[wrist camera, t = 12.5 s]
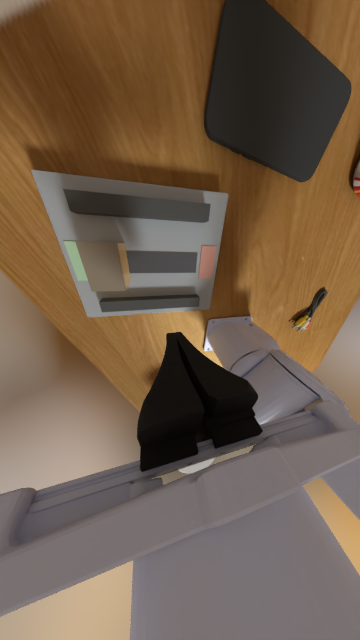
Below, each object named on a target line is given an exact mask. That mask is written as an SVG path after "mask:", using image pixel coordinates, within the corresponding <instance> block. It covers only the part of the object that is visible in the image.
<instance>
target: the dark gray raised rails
mask: <svg viewBox="0 0 360 640" xmlns="http://www.w3.org/2000/svg"><path fill="white" fill-rule="evenodd" d="M63 190H64V194H65V197H66V200H67V203H68V206H69V209H70V211H71V212H74V213H76V214H85V215H99V216H113V217H127V218H141V219H155V220H169V221H183V222H198V223H205V222H208V221H209V214H210V206H211V204H207V203H197V202H187V201H178V200H168V199H158V198H148V197H138V196H129V195H119V194H109V193H99V192H89V191H80V190H70V189H63ZM199 301H200V297H199V296H198V295H197V294H189V295H165V296H141V297H116V298H102V299H101V300H100V301H99V305H100V308H101V311H102V312H117V311H134V310H150V309H167V308H183V307H199Z"/></svg>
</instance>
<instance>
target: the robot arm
mask: <svg viewBox="0 0 360 640" xmlns="http://www.w3.org/2000/svg"><path fill="white" fill-rule="evenodd" d="M245 318H246V319H245ZM213 321H214V322H213ZM166 339H167V345H166V351H165V355H164V358H163V362H162V365H161V367H160V370H159V373H158V375H157V377H156V379H155V381H154V383H153V385H152V387H151V389H150V391H149V393H148V395H147V396H146V398H145V400H144V402H143V405H142V409H141V412H140V416H139V420H138V428H137V439H138V441H139V444H140V447H141V454H140V460H139V461H136V462H132V463H129V464H125V465H122V466H119V467H115V468H112V469H108V470H105V471H102V472H98V473H95V474H92V475H88V476H85V477H82V478H78V479H75V480H72V481H68V482H65V483H62V484H58V485H55V486H51V487H48V488H44V489H41V490H38V491H36V490H35V489H33V488H21V489H17V490H14V491H10V492H7V493H4V494H0V617H1V616H3V615H5V614H8V613H10V612H12V611H15V610H17V609H19V608H22V607H24V606H26V605H29V604H31V603H34V602H36V601H38V600H40V599H43V598H45V597H48V596H50V595H52V594H54V593H57V592H59V591H62V590H64V589H66V588H69V587H71V586H73V585H76V584H78V583H80V582H83V581H85V580H87V579H90V578H92V577H94V576H97V575H99V574H101V573H104V572H106V571H109V570H111V569H113V568H115V567H118V566H120V565H123V564H125V563H127V562H129V561H132V560H133V581H132V583H133V584H132V605H131V629H130V631H131V632H130V640H360V576H359V574H358V572H357V571H356V569H355V568H354V566H353V565H352V563H351V561H350V560H349V558H348V557H347V555H346V554H345V552H344V551H343V549H342V547H341V546H340V544H339V543H338V541H337V539H336V538H335V536H334V535H333V533H332V532H331V530H330V528H329V527H328V525H327V524H326V522H325V521H324V519H323V517H322V516H321V514H320V513H319V511H318V509H317V508H316V506H315V505H314V503H313V502H312V500H311V499H310V497H309V495H308V494H307V492H306V491H305V489H304V487H303V486H302V485H304V484H306V483H308V482H310V481H312V480H314V479H317V478H318V477H321V478H322V479H323V480H324V481H325V482H326V484H327V485H328V486H329V487H330V488H331V489H332V490H333V491H334V493H335V494H336V495H337V496H338V497H339V498H340V499H341V500H342V501H343V503H344V504H346V506H347V507H348V508H349V509H350V510H351V511H352V512H353V514H354V515H355V516H356V517H357V518H358V519H359V520H360V425H359V424H358V423H357V422H356V421H355V420H354V419H353V418H351V417H350V412H349V409H348V408H347V407H346V406H345V403H344V402H343V400H342V399H340V398H339V397H338V396H337V395H336V394H335V393H334V392H333V391H331V390H330V389H329V388H328V387H327V386H326V385H325V384H324V383H322V382H321V381H320V380H319V379H318V378H317V377H315V376H314V375H313V374H312V373H310V372H309V371H308V370H307V369H305V368H304V367H303V366H302V365H300V364H299V363H298V362H297V361H295V360H294V359H293V358H291V357H290V356H289V355H287V354H286V353H285V352H283V351H282V350H280V347H279V345H278V343H277V342H276V340H275V339H274V338H273V337H272V336H270V335H269V334H268V333H266V332H265V331H264V330H262V329H261V328H260V327H258V326H257V325H256V324H254V323H253V322H252V317H251V316H242V317H230V318H218V319H210V320H209V321H208V325H207V331H206V337H205V343H204V351H210V350H213V351H214V352H215V354H216V356H217V357H218V359H219V361H220V362H221V364H222V366H223V367H224V368H222V367H220V366H219V365H217V364H216V363H214V362H213V361H211V360H210V359H208V358H207V357H206V356H204V355H203V354H202V353H201V352H200V351H198V350H197V349H196V348H195V347H194V346H193V345H192V344H191V343H190V342H189V341H188V340H187V339H186V337H185V336H184V335H183V334H182V333H181V332H176V333H167V334H166ZM255 444H256V445H255ZM251 445H254V446H253V448H252V450H251V451H250V452H249V453H246V454H244V455H240V456H237V457H234V458H231V459H228V460H225V461H222V462H219V463H217V464H214V465H211V466H209V467H206V468H204V469H201V470H199V471H196V472H194V473H191V474H189V475H187V476H184V477H182V478H180V479H177V480H175V481H172V482H170V483H168V484H165V485H163V483H162V478H155V477H158V476H161V475H164V474H167V473H170V472H173V471H176V470H179V469H182V468H185V467H188V466H191V465H194V464H197V463H200V462H203V461H206V460H209V459H212V458H215V457H218V456H221V455H224V454H227V453H230V452H233V451H236V450H239V449H243V448H246V447H249V446H251ZM152 478H155V479H152Z"/></svg>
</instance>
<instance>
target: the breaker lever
mask: <svg viewBox="0 0 360 640" xmlns="http://www.w3.org/2000/svg"><path fill="white" fill-rule="evenodd" d="M75 243H76V246H77V249H78V252H79V255H80V258H81V261H82V264H83V267H84V270H85V273H86V276H87V279H88V282H89V285H90V288H91V291H92V292H97V291H126V289H127V287H128V285H129V283H130V281H131V278H130V272H129V265H128V259H127V253H126V247H125V243H105V242H75Z"/></svg>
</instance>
